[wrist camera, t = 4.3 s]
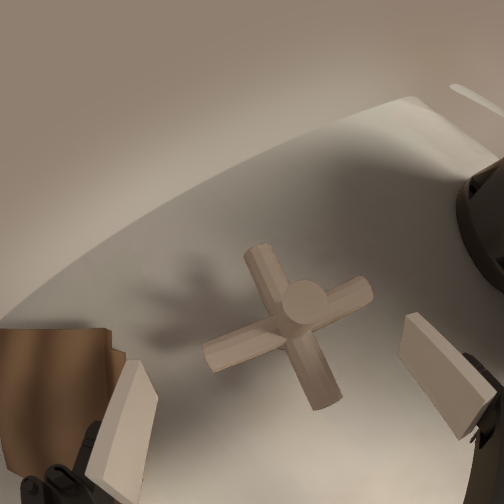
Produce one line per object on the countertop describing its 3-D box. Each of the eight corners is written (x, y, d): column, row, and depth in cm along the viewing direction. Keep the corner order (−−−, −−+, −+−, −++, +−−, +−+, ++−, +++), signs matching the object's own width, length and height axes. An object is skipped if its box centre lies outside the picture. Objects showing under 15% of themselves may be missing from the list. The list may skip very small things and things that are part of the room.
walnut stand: (135, 340, 20) (104, 328, 15) (156, 491, 14) (131, 514, 10) (28, 340, 19) (-6, 328, 15) (40, 463, 14) (7, 469, 9)
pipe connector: (198, 302, 21) (152, 242, 12) (314, 256, 22) (344, 174, 13) (247, 424, 17) (234, 465, 8) (370, 366, 18) (447, 349, 9)
